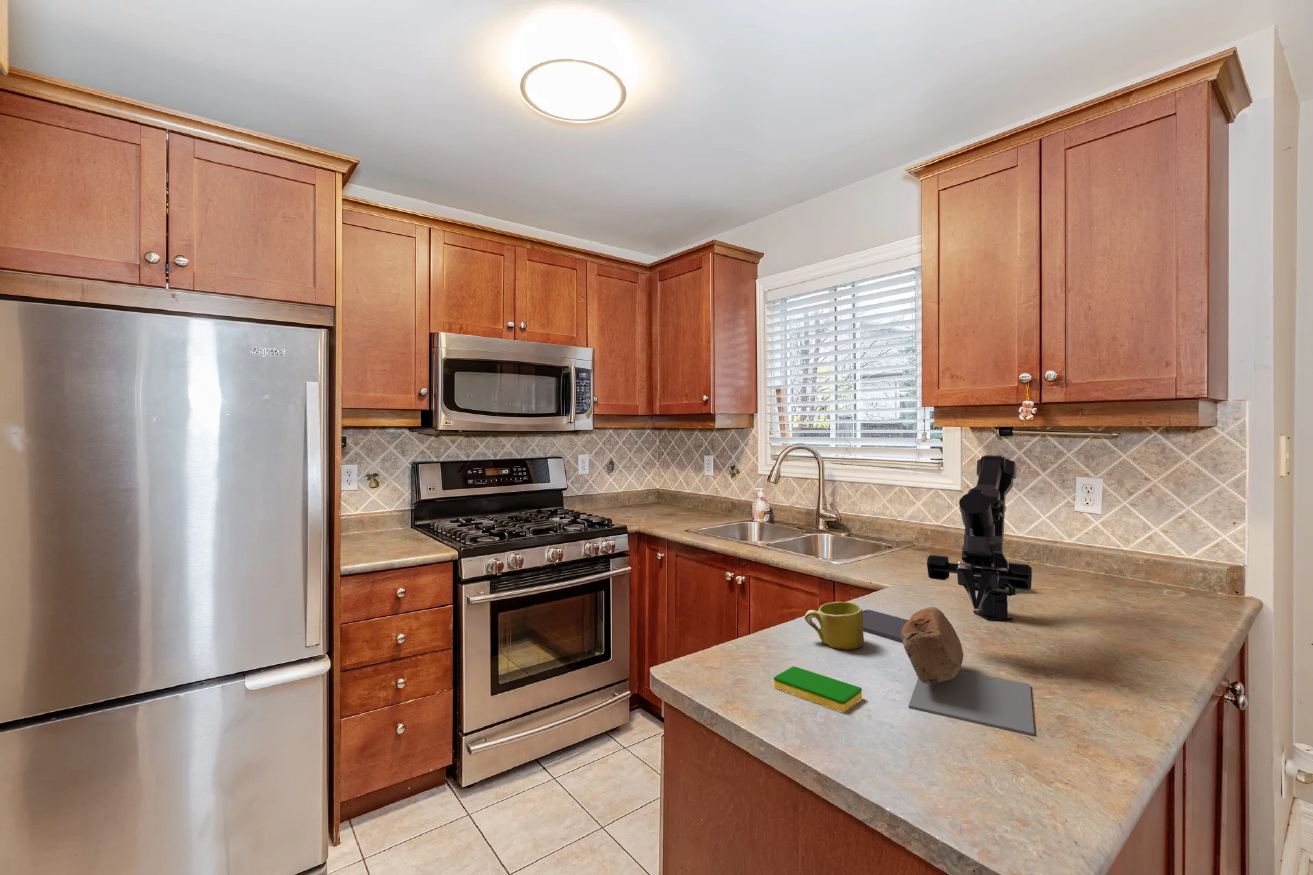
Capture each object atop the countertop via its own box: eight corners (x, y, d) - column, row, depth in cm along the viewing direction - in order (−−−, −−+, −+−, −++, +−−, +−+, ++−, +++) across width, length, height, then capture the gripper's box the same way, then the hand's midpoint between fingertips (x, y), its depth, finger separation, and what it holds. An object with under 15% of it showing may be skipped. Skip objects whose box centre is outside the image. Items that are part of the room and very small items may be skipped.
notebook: (838, 625, 143) (924, 652, 126) (838, 619, 143) (924, 644, 126) (867, 615, 151) (952, 638, 134) (867, 608, 151) (952, 631, 134)
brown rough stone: (967, 655, 117) (963, 680, 100) (930, 665, 120) (918, 691, 103) (942, 601, 120) (933, 616, 103) (906, 612, 123) (891, 629, 106)
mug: (869, 628, 134) (860, 590, 131) (870, 658, 125) (860, 618, 122) (815, 631, 139) (805, 595, 136) (811, 661, 129) (800, 622, 127)
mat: (923, 665, 118) (923, 663, 118) (1029, 685, 109) (1030, 683, 109) (908, 707, 101) (908, 705, 101) (1034, 735, 92) (1034, 733, 92)
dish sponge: (843, 715, 99) (843, 701, 99) (772, 689, 109) (772, 676, 109) (862, 701, 104) (862, 687, 104) (793, 677, 114) (793, 665, 114)
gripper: (928, 516, 126) (921, 579, 117) (1032, 523, 117) (1033, 593, 107) (931, 546, 133) (925, 608, 124) (1030, 555, 123) (1031, 623, 114)
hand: (976, 608), depth 117 cm, fingers closed
